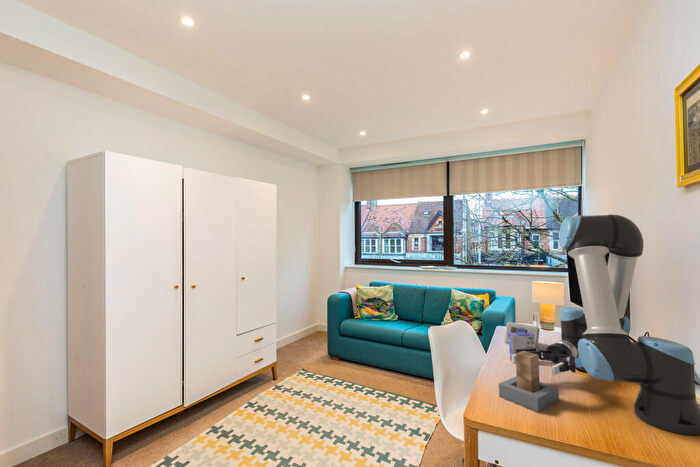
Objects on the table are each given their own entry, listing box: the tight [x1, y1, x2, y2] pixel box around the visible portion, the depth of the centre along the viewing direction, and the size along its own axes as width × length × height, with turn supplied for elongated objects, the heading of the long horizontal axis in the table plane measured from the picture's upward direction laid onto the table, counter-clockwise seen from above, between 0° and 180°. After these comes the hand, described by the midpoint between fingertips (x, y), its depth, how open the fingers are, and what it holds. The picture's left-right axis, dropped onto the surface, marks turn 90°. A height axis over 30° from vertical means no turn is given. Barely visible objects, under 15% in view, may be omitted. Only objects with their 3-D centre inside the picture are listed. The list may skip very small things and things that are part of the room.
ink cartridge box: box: [508, 328, 535, 363], centre depth 143 cm, size 10×6×14 cm, turn 78°
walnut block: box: [515, 351, 540, 393], centre depth 109 cm, size 5×5×14 cm
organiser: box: [498, 376, 560, 414], centre depth 109 cm, size 13×13×4 cm
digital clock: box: [504, 321, 540, 348], centre depth 166 cm, size 16×9×11 cm, turn 28°
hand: (531, 364), depth 112 cm, fingers open, 13 cm apart
